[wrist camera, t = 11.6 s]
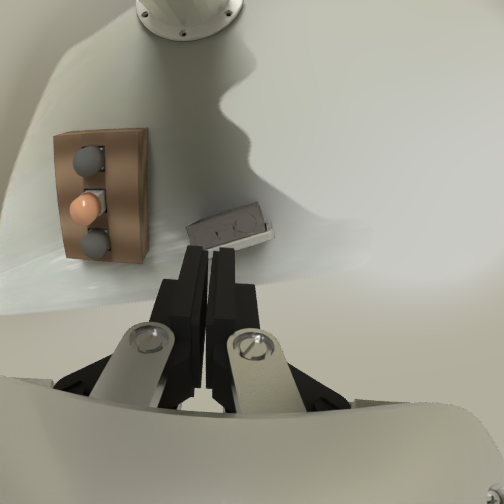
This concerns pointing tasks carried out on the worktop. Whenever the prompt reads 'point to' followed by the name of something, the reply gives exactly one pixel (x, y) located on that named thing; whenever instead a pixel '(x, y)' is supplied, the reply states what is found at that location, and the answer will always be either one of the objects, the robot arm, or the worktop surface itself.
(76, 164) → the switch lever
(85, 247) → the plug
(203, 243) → the electrical switch
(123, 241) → the wooden socket board
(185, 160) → the worktop surface
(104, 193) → the plug middle
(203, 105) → the worktop surface
